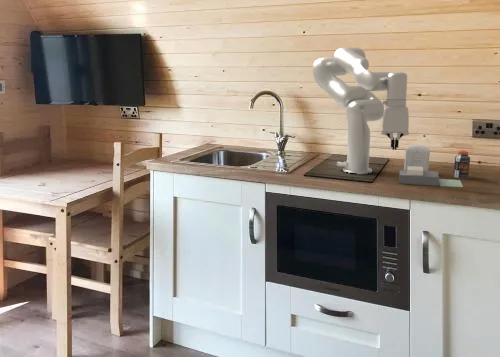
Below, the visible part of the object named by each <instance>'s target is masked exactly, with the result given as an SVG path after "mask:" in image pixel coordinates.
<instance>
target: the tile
mask: <svg viewBox="0 0 500 357" xmlns="http://www.w3.org/2000/svg"><path fill="white" fill-rule="evenodd" d="M407 175H422V176H423V167H416V166H407Z"/></svg>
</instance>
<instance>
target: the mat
mask: <svg viewBox="0 0 500 357" xmlns="http://www.w3.org/2000/svg"><path fill="white" fill-rule="evenodd" d="M438 186H439V187H445V188H446V187H448V188H449V187H450V188H464V186H463V183H462V182H461V179H445V178H444V179H443V178H439V185H438Z"/></svg>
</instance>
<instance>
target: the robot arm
mask: <svg viewBox="0 0 500 357" xmlns="http://www.w3.org/2000/svg"><path fill="white" fill-rule="evenodd" d="M369 66H370V63H369V60H368V59H367V57H366V53H365V50H363V49H362V48H360V47H347V46H346V47H339V48H338V49H337V50H336V51H335V52H334V54H333V56H329V57H328V56H325V57H319V58H318V59H316V60H314V62H313V64H312V75H313V78H314V80H315V82H316V84H318V86H319V87H320V88H321V89H322V90H324V91H325V92H326V94H328V95H329V96H330V97H331V98H332V99H333V100H334V101H335V102H336V103H337V104H338V105H339V106H340V107H341V108H345V109H346V112H345V113H346V120H347V152H346V153H347V155H346V156H347V157H346V161H337V162H336V166H337V167H343V168H342V172H344V173H346V172H348V173H347V174H350V173H357V174H356V175H369V174H372V172H373V169H372V168H370V164H369V163H370V148H371V130H370V126H369V124H368V122H375V121H379V120H381V119H382V125H381V127H382V128H381V129H382V130H381V132H380V133H381V135H383V136H387V137H388V138H389V139H390V148H392V151H393V150H397V148H399V140H400V139H401V138H403V137H405V136H408V135H410V133H409V127H410V126H409V121H410V120H409V115H410V112H409V108H408V106H407V93H408V92H407V89H408V86H407V85H408V74H407V73H406V72H402V71H399V72H391V71H371V70H368V69H369V68H370V67H369ZM349 73H350V75H352V77H353V79H354V82H355V83H356V84H357V85H353V86H352V85H348V84H347V83H345V81H343V80H342V79H341V78H340V77H338V76H345V75H347V74H349ZM379 91H381V92H383V91H386V100H383V101H382V100H380V99H379V98H378V96H376V95H375V93H373V92H379ZM385 105H386V106H385ZM394 133H396V137H394ZM368 173H369V174H368Z"/></svg>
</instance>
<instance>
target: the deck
mask: <svg viewBox="0 0 500 357" xmlns="http://www.w3.org/2000/svg"><path fill="white" fill-rule="evenodd" d="M439 179H440V175H439V172H438V171H432V170H428V171H423V176H422V175H407V170H404V169H399V177H398V184H399V185H400V184H403V185H417V186H418V185H419V186H436V187H437V186H440V185H439Z"/></svg>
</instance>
